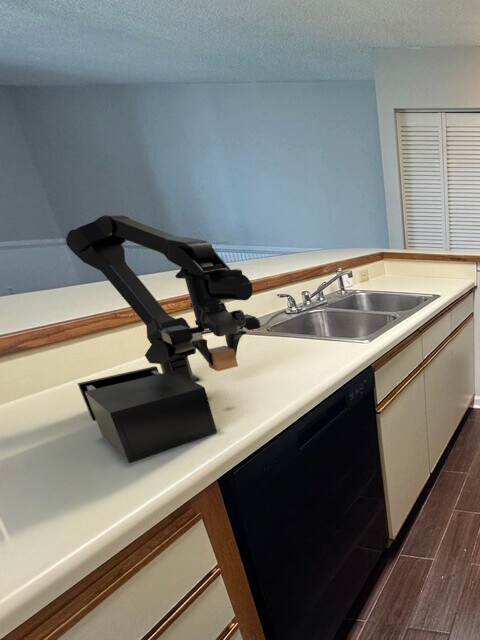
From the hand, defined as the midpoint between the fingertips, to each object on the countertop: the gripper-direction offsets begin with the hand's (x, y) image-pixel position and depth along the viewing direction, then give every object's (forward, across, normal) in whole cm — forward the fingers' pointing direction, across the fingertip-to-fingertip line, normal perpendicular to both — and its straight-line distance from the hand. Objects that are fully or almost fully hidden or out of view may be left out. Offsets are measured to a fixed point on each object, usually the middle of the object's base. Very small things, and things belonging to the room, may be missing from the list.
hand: (222, 362), depth 102 cm
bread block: (+1, 0, 0) cm, 1 cm away
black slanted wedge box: (+6, -19, -17) cm, 26 cm away
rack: (+5, -19, -7) cm, 21 cm away
